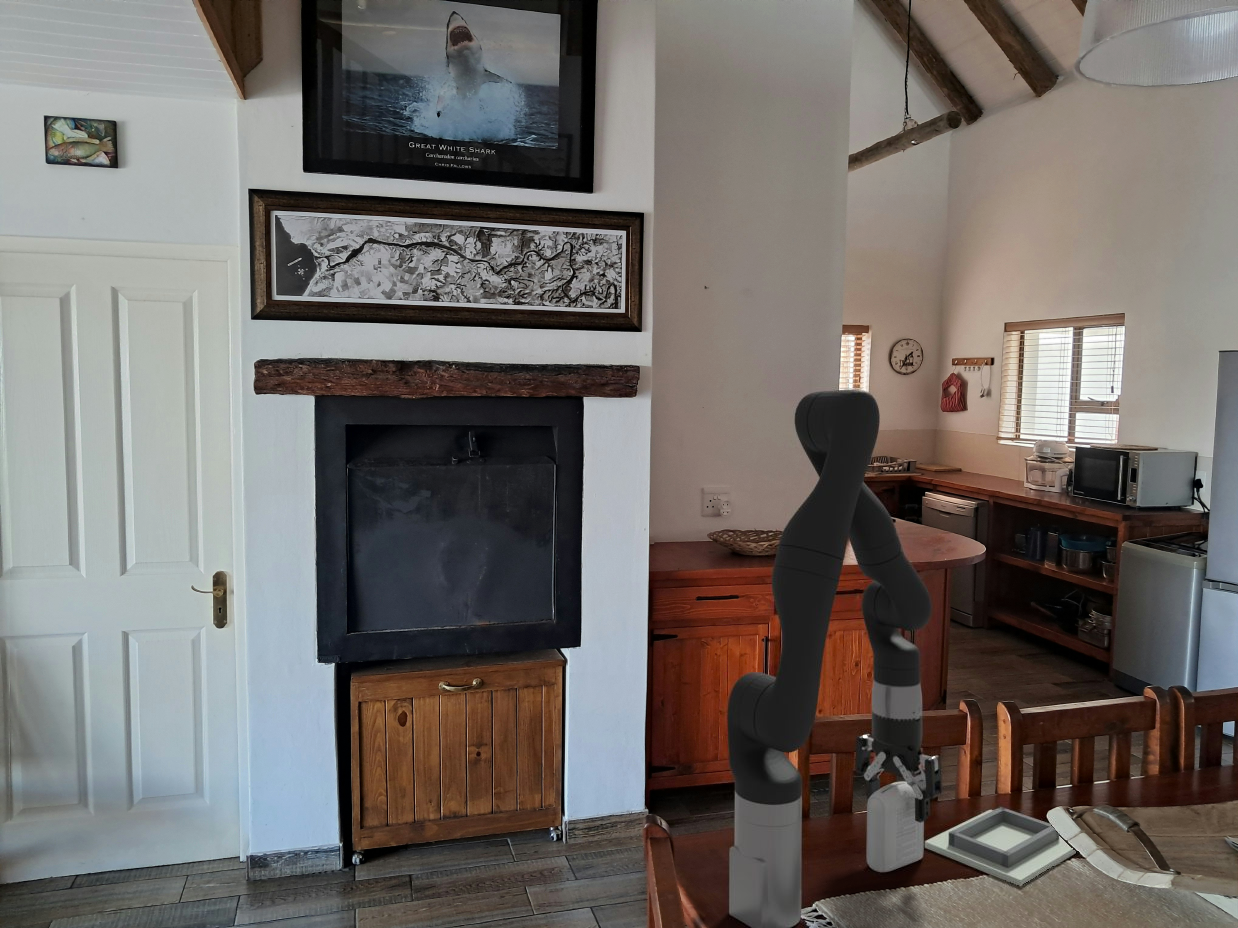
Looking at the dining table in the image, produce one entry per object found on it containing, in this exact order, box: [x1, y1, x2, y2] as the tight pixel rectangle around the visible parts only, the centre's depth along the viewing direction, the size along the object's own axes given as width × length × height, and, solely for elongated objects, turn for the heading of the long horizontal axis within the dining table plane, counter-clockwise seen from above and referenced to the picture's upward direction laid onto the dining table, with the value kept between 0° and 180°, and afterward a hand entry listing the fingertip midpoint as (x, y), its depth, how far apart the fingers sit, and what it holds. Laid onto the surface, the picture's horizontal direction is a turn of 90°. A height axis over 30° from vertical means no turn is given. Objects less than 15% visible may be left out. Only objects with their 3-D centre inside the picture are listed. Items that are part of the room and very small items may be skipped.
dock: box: [924, 806, 1076, 888], centre depth 144 cm, size 20×16×3 cm
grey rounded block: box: [866, 781, 925, 873], centre depth 139 cm, size 10×4×12 cm, turn 123°
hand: (897, 811), depth 139 cm, fingers open, 8 cm apart
